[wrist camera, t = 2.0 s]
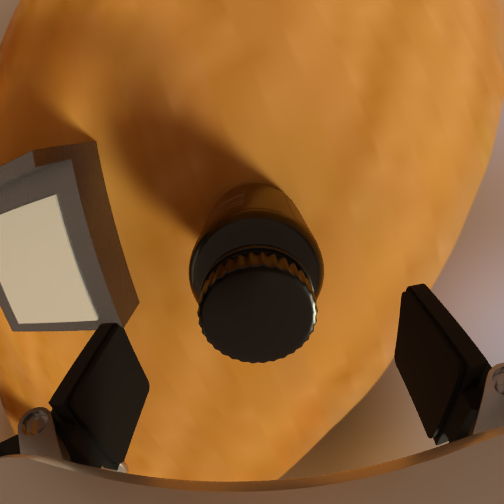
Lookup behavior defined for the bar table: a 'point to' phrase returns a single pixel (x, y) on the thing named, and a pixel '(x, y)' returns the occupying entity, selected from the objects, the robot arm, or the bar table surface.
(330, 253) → the bar table surface
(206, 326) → the supplement bottle
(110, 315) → the shelf block
